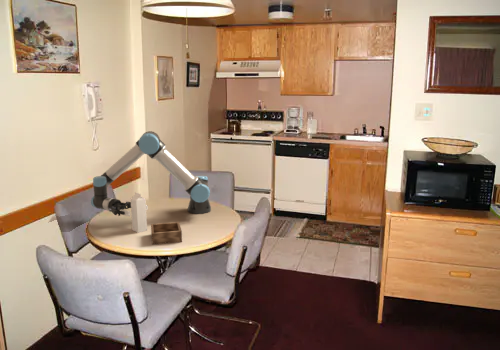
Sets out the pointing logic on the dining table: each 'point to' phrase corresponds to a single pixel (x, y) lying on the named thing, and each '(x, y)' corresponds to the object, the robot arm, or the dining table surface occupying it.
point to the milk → (138, 213)
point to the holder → (166, 233)
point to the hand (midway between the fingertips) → (138, 210)
